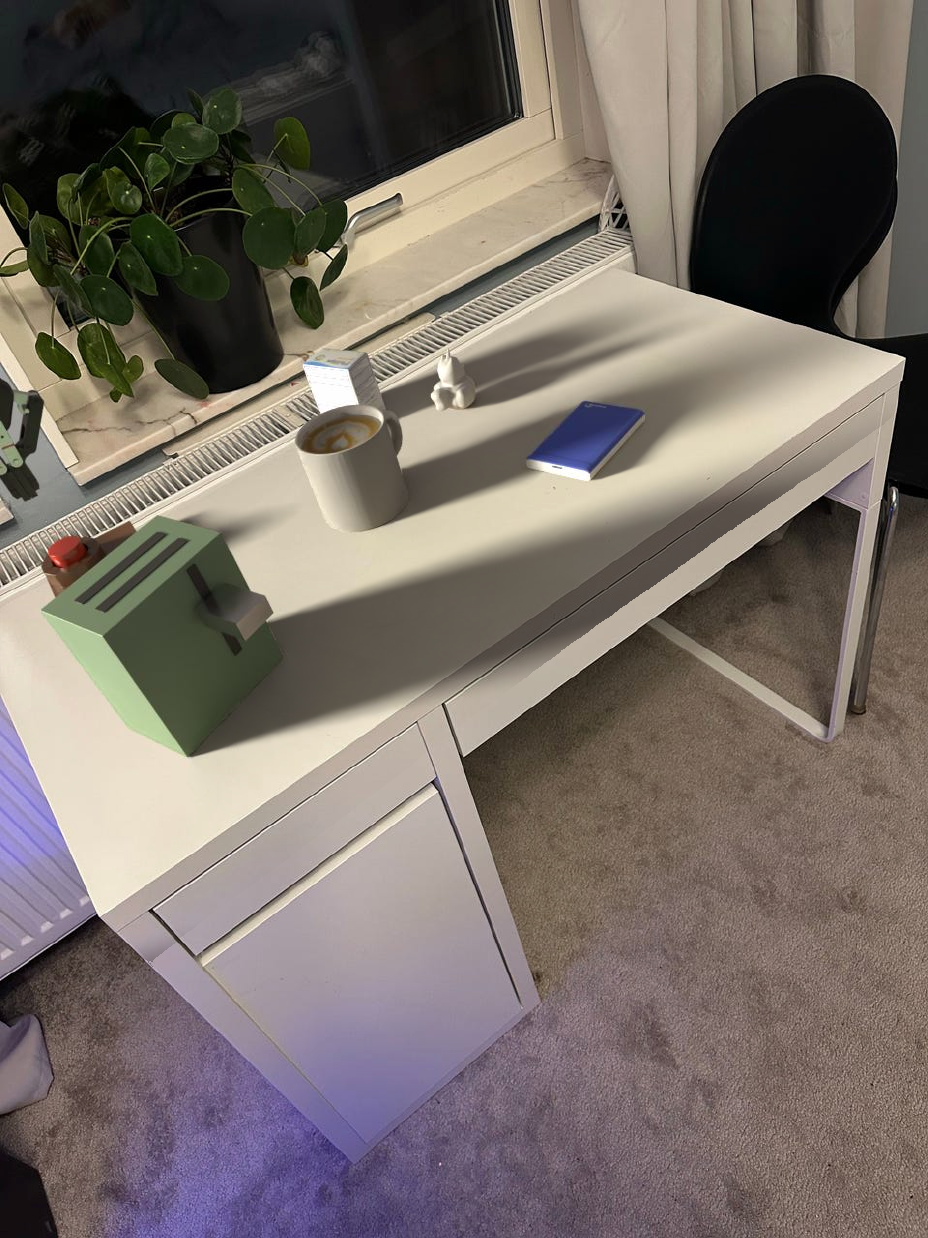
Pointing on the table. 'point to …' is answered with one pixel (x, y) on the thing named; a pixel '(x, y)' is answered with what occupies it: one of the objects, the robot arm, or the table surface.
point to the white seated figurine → (452, 385)
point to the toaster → (162, 633)
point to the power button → (67, 551)
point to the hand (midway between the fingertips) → (30, 496)
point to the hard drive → (586, 440)
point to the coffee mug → (354, 466)
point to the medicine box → (342, 379)
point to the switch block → (86, 557)
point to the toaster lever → (234, 611)
